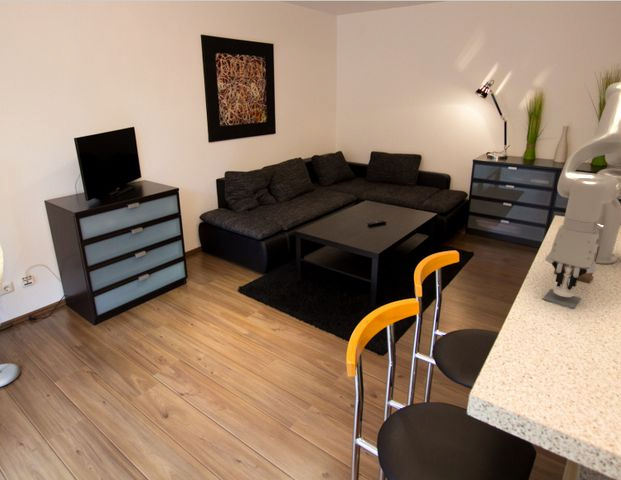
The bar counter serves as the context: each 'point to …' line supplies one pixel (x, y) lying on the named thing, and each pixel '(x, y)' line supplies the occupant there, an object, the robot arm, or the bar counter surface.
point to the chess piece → (565, 284)
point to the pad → (562, 299)
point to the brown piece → (585, 277)
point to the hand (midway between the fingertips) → (564, 286)
